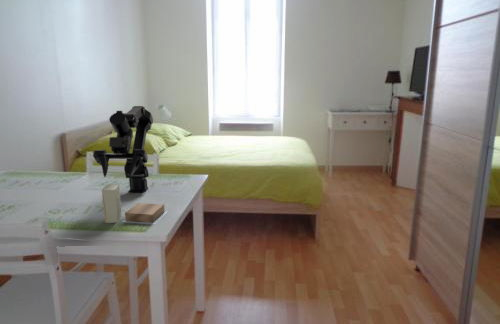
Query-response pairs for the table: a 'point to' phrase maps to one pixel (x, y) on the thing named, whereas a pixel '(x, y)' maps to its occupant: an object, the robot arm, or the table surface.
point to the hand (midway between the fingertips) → (117, 176)
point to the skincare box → (111, 203)
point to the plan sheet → (147, 223)
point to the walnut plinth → (144, 213)
